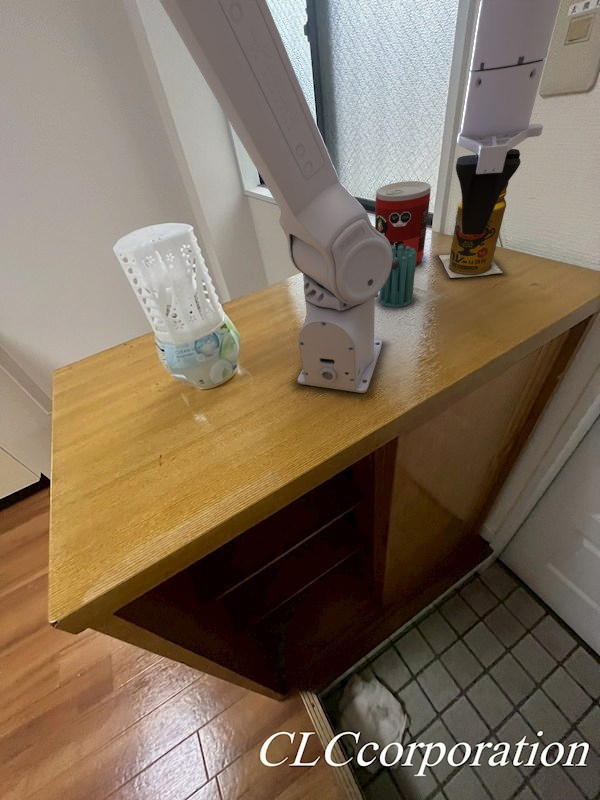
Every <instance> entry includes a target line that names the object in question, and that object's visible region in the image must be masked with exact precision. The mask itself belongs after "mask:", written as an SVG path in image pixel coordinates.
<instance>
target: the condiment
mask: <svg viewBox="0 0 600 800" xmlns="http://www.w3.org/2000/svg"><path fill="white" fill-rule="evenodd" d="M509 182H510V181H508V183H507V184H506V186H505V187H504V189H503V191H502V193H501V194H500V196H499V198H498V201H497V203H496V205H495V207H494V210H493V212H492V215H491V217H490V220H489V222H488V224H487V226H486V228H485V230H484V232H483V234H463V232H462V200H461V201H460V203H458V206H457V210H456V217H455V224H454V231H453V235H452V241H451V246H450V254H442V255H440V254H439V255H438V257H439V259H440V261H441V262H442V265H443V266H444V269H445V271H446V273H447V275H448V276H449V278H450V279H455V278H470V277H479V276H480V277H481V276H488V275H494V274H503V271H502V270H501V269H500V268H499V266H498V265H497V264H496V262H495V261H494V257H495V251H496V247H497V243H498V240H499V236H500V231H501V229H502V228H501V227H502V223H503V219H504V216H505V211H506V209H507V201H506V199H505V198H506V196H507V193H508V192H507V189H508V186H509Z"/></svg>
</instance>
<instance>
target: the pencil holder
mask: <svg viewBox="0 0 600 800" xmlns="http://www.w3.org/2000/svg"><path fill="white" fill-rule="evenodd" d="M391 248H392V253H393V261H392V267H391V271H390V274H389V277H388V279H387V281H386V283H385V284H384V286H383V287H382V289H381V290H380V291H379V303H380V304H381V305H382V306H384V307H388V308H402V307H403V308H404V307H405V306H408V305H410V304H411V303H412V301H413V295H414V285H415V274H416V266H417V265H416V256H417V253H416V251H415V249H414V248H412V249H411V248H410V247H409V246H407V247H406V246H405V244H399V245H398V248H397V249H398V252H397V257H396V247H395V246H393V247H391ZM403 253H404V257H403Z"/></svg>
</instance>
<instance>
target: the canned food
mask: <svg viewBox="0 0 600 800" xmlns="http://www.w3.org/2000/svg"><path fill="white" fill-rule="evenodd" d="M431 187H432V186H431V184H430V183H428V182H425V181H419V180H411V181H410V180H408V181H406V180H405V181H399V182H393V183H389V184H385V185H383V186H381V187H378V189H377V190H376V191H375V204H374V205H375V212H374V213H375V214H374V215H375V217H374V228H375V229H376V230H377V231H378V232H380V233H381V234H383V235H384V236H385V237H386V238H387V239H388V241H389V243H390V245H391V247H393V246H395V247H396V257H397V252H398V249H397V248H398V245H399V244H405V246H406V247H407V246H409V247H410V248H411V249H412V248H414V249H415V251H416V253H417V256H416V266H418V265H420V264H421V262H422V260H423V257H424V252H425V243H426V237H427V236H426V235H427V234H426V233H427V226H428V219H429V212H430V211H429V209H430V201H431V191H432V190H431ZM403 257H404V253H403Z"/></svg>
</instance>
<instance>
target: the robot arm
mask: <svg viewBox="0 0 600 800" xmlns="http://www.w3.org/2000/svg"><path fill="white" fill-rule="evenodd" d="M158 1H159V2H160V4H161V6H162V8H163V9H164V11H165V13H166V14H167V16H168V18H169V20H170V21H171V23H172V25H173V27H174V28H175V30H176V32H177V33H178V36H179V37H180V39H181V41H182V42H183V44H184V46H185V48H186V49H187V51H188V53H189V54H190V56H191V58H192V60H193V61H194V63H195V65H196V67H197V69H199V72H200V73H201V74H202V77H203V79H204V80H205V82H206V84H207V86H208V87H209V89H210V91H211V93H212V94H213V96H214V98H215V99H216V101H217V103H218V104H219V106H220V108H221V110H222V112H223V113H224V115H225V116H226V117H225V118H226V119H227V120H228V122H229V124H230V125H231V127H232V129H233V131H234V132H235V135H236V136H237V138H238V139H239V141H240V143H241V144H242V146H243V148H244V149H245V151H246V153H247V155H248V157H249V158H250V160H251V161H252V164H253V165H254V167H255V169H256V170H257V172H258V174H259V176H260V177H261V179H262V181H263V182H264V184H265V186H266V187H267V188H266V189H268V191H269V193H270V195H271V196H272V199H273V200H274V201H275V203H276V205H277V207H278V209H279V210H280V215H279V220H278V221H279V226H280V227H281V229H282V231H283V232H284V235H285V236H286V241H287V248H288V255H289V259H290V261H291V263H292V265H293V266H294V268H295V269H296V270H297V271H299V272H300V273H301V274H302V279H303V294H304V295H303V296H304V301H305V302H304V303H305V318H304V322H303V324H302V326H301V328H300V330H299V333H298V339H297V340H298V341H297V343H298V349H299V355H300V360H301V366H302V369H301V371H300V373H299V375H298V377H297V383H298V384H300V385H304V386H312V387H317V388H318V387H319V388H326V389H333V390H340V391H345V392H352V393H359V394H365V393H366V392H367V391H368V389H369V386H370V383H371V380H372V377H373V374H374V371H375V368H376V365H377V362H378V359H379V356H380V353H381V350H382V347H383V340H382V339H379V338H375V317H376V315H375V314H376V312H375V310H376V298H377V297H379V293H380V290H381V289H382V287H383V286H384V284H385V283H386V281H387V279H388V277H389V274H390V271H391V267H392V261H393V253H392V248H391V245H390V243H389V241H388V239H387V238H386V237H385V236H384V235H383V234H381V233H380V232H378V231H377V230H376V229H375V226H374V225H373V224H372V222H371V220H370V217H369V214H368V212H367V210H366V209H365V207H364V206H363V205H362V204H361V202H359V201H358V199H356V197H355V196H354V195H353V194H352V193H351V192H350V191H349V190H348V188H346V187H345V186H344V184H343V183H342V182H341V181H340V178H339V176H338V173H337V171H336V168H335V166H334V164H333V161H332V159H331V156H330V154H329V151H328V148H327V146H326V144H325V142H324V139H323V136H322V135H321V131H320V129H319V127H318V125H317V122H316V119H315V116H314V114H313V112H312V110H311V107H310V104H309V102H308V100H307V97H306V95H305V93H304V90H303V88H302V85H301V82H300V80H299V78H298V76H297V73H296V70H295V68H294V65H293V63H292V61H291V58H290V55H289V53H288V51H287V49H286V46H285V44H284V41H283V39H282V36H281V34H280V32H279V29H278V26H277V24H276V22H275V19H274V17H273V14H272V11H271V9H270V7H269V4H268V2H267V0H158ZM561 1H562V0H480V2H479V3H480V4H479V9H478V14H477V15H478V16H477V22H476V28H475V34H474V35H475V36H474V41H473V49H472V56H471V63H470V68H469V69H470V71H469V75H468V82H467V88H466V95H465V102H464V109H463V114H462V120H461V129H460V131H459V133H458V134H457V141H456V144H457V145H458V147H459V146H460V148H461V147H462V148H463V149H466V150H467V151H469V152H472V153H474V154H468V155H462V156H459V157H458V158H457V159H456V162H455V172H456V175H457V179H458V182H459V186H460V191H461V192H460V193H461V201H462V232H463V234H483V232H484V230H485V228H486V226H487V224H488V222H489V220H490V217H491V215H492V212H493V210H494V207H495V205H496V203H497V201H498V198H499V196H500V194H501V193H502V191H503V189H504V187H505V186H506V184H507V183H508V182H510V180H511V178H512V177H513V176H514V175H515V173H516V172H517V170H518V169H519V167H520V165H521V162H522V161H521V158H520V156H521V153H520V150H519V149H517V148H515V147H517V146H518V145H519V144H521V143H523V142H524V141H525V140H527V139H528V138H535V137H540V136H541V135H542V132H543V129H544V126H543V124H542V123H530V121H531V117H532V114H533V110H534V105H535V102H536V98H537V94H538V90H539V87H540V83H541V78H542V75H543V71H544V68H545V63H546V59H547V55H548V52H549V48H550V45H551V40H552V37H553V32H554V29H555V28H554V27H555V25H556V21H557V17H558V13H559V9H560V7H561V6H560V5H561ZM508 184H509V183H508Z"/></svg>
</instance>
